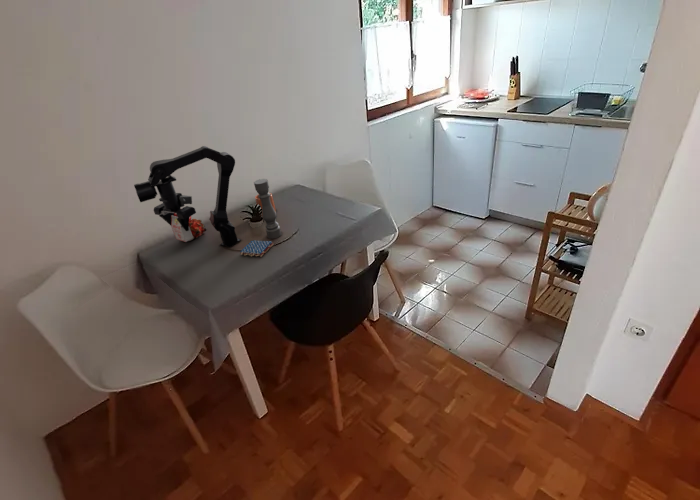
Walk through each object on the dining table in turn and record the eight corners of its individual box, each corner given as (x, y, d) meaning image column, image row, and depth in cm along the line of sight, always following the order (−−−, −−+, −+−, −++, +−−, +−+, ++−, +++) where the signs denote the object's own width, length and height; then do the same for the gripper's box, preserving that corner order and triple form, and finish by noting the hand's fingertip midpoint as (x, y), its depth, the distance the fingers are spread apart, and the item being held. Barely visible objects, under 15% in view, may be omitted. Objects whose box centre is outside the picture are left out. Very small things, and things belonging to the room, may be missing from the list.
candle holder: (268, 233, 184) (254, 180, 172) (281, 230, 184) (268, 177, 172) (266, 239, 179) (252, 185, 167) (281, 237, 179) (267, 182, 167)
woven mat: (262, 257, 165) (260, 253, 164) (240, 256, 169) (238, 251, 168) (274, 244, 174) (273, 240, 173) (253, 243, 178) (252, 239, 177)
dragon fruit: (197, 233, 199) (203, 245, 190) (179, 229, 193) (185, 241, 185) (204, 217, 196) (210, 229, 188) (186, 213, 191) (192, 225, 182)
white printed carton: (183, 235, 173) (175, 213, 168) (193, 237, 169) (185, 215, 164) (176, 239, 171) (167, 217, 166) (185, 242, 167) (177, 219, 162)
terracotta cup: (279, 210, 205) (275, 193, 201) (268, 217, 200) (264, 199, 195) (267, 208, 210) (262, 191, 205) (256, 215, 204) (251, 198, 199)
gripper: (200, 187, 162) (212, 223, 169) (169, 184, 171) (182, 218, 179) (177, 199, 154) (191, 236, 161) (146, 195, 163) (160, 230, 171)
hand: (181, 229), depth 168 cm, fingers closed on white printed carton, 7 cm apart
